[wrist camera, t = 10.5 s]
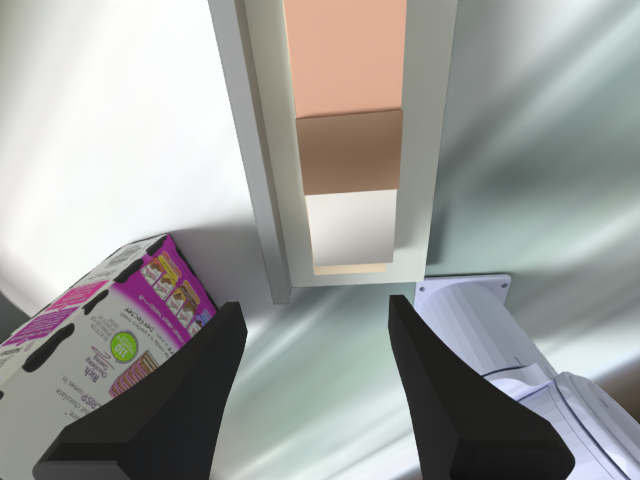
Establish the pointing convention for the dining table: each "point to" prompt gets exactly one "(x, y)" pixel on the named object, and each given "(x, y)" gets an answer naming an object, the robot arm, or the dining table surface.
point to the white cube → (352, 227)
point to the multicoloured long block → (349, 159)
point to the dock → (282, 145)
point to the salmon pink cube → (346, 55)
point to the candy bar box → (94, 345)
